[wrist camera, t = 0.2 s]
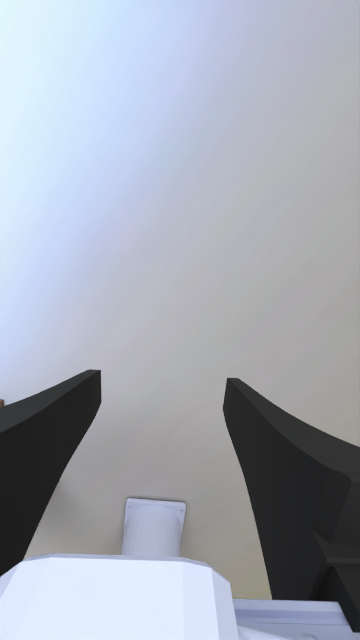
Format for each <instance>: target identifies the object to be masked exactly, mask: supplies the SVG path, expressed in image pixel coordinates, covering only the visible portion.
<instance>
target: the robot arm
mask: <svg viewBox="0 0 360 640" xmlns="http://www.w3.org/2000/svg"><path fill="white" fill-rule="evenodd" d="M100 404H101V370H87V371H85V372H82V373H80V374H78V375H76V376H74V377H72V378H70V379H68V380H66V381H64V382H62V383H60V384H58V385H55V386H53V387H51V388H49V389H47V390H44V391H42V392H40V393H38V394H35V395H33V396H31V397H28V398H25V399H23V400H20V401H17V402H15V403H12V404H9V405H6V406H3V407H0V640H360V447H358V446H355V445H353V444H350V443H348V442H345V441H343V440H341V439H338V438H336V437H334V436H331V435H329V434H327V433H325V432H323V431H321V430H319V429H317V428H315V427H312V426H311V425H309V424H307V423H305V422H303V421H301V420H299V419H298V418H296V417H294V416H292V415H290V414H289V413H287V412H285V411H284V410H282V409H281V408H279V407H278V406H276V405H275V404H273V403H272V402H270V401H269V400H267V399H266V398H264V397H263V396H262V395H260V394H259V393H258V392H256V391H255V390H254V389H252V388H251V387H250V386H248V385H247V384H245V383H244V382H243V381H241V380H240V379H238V378H227V383H226V390H225V397H224V404H223V412H224V417H225V421H226V426H227V429H228V432H229V435H230V437H231V440H232V443H233V446H234V449H235V451H236V454H237V457H238V460H239V463H240V465H241V468H242V471H243V475H244V478H245V482H246V485H247V489H248V493H249V497H250V501H251V505H252V509H253V513H254V517H255V522H256V526H257V530H258V534H259V539H260V543H261V548H262V552H263V557H264V561H265V566H266V570H267V575H268V580H269V585H270V590H271V595H272V600H255V599H233V598H232V593H231V588H230V583H229V582H228V581H227V580H226V579H225V578H224V577H223V576H222V575H221V574H220V573H219V572H217V571H216V570H215V569H214V568H212V567H211V566H210V565H209V564H208V563H205V562H201V561H196V560H192V559H187V558H183V557H180V541H181V535H182V529H183V523H184V517H185V512H186V504H185V503H184V502H172V501H160V500H147V499H134V498H129V499H127V500H126V506H125V519H124V532H123V545H122V551H121V555H95V554H64V553H53V554H46V555H40V556H33V557H28V558H27V559H25V560H23V558H24V556H25V554H26V552H27V549H28V547H29V545H30V542H31V540H32V538H33V536H34V533H35V531H36V529H37V526H38V524H39V522H40V520H41V518H42V515H43V513H44V511H45V509H46V507H47V505H48V502H49V500H50V498H51V496H52V494H53V492H54V490H55V488H56V486H57V484H58V482H59V479H60V477H61V475H62V473H63V471H64V469H65V468H66V466H67V464H68V462H69V460H70V459H71V457H72V455H73V454H74V452H75V450H76V449H77V447H78V445H79V444H80V442H81V440H82V439H83V437H84V435H85V434H86V432H87V430H88V429H89V427H90V425H91V423H92V422H93V420H94V418H95V416H96V414H97V411H98V409H99V407H100Z"/></svg>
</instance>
